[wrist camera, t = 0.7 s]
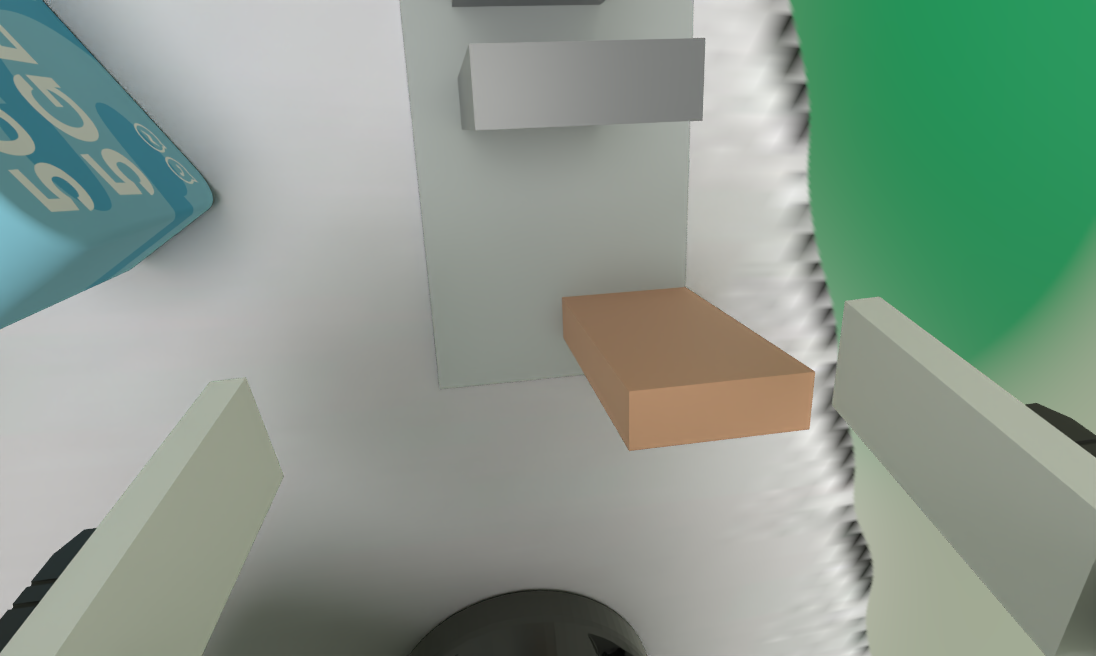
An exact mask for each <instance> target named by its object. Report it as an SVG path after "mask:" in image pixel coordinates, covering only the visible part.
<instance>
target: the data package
mask: <svg viewBox="0 0 1096 656" xmlns="http://www.w3.org/2000/svg"><path fill="white" fill-rule="evenodd" d="M212 203H213V196H212V192H211V190H210V188H209V186H208V184H207V183H206V181H205V180H204V178H203V177H202V176H201V174H200V173H199V172H198V171H197V169H196V168H195V167H194V166H193V165H192V164H191V163H190V162H189V161H188V159H187V158H186V157H185V156H184V155H183V154H182V153H181V152H180V151H179V150H178V149H177V147H176V146H175V145H174V144H173V143H172V142H171V141H170V140H169V139H168V138H167V136H166V135H165V134H164V133H163V132H162V131H161V130H160V129H159V128H158V127H157V126H156V124H155V123H154V122H153V121H152V120H151V119H150V118H149V117H148V116H147V115H146V114H145V112H144V111H143V110H142V109H141V108H140V107H139V106H138V105H137V104H136V103H135V102H134V100H133V99H132V98H131V97H130V96H129V95H128V94H127V93H126V92H125V91H124V89H123V88H122V87H121V86H120V85H119V84H118V83H117V82H116V81H115V80H114V79H113V77H112V76H111V75H110V74H109V73H108V72H107V71H106V70H105V69H104V68H103V67H102V65H101V64H100V63H99V62H98V61H97V60H96V59H95V58H94V57H93V56H92V55H91V53H90V52H89V51H88V50H87V49H86V48H85V47H84V46H83V45H82V44H81V42H80V41H79V40H78V39H77V38H76V37H75V36H74V35H73V34H72V33H71V32H70V30H69V29H68V28H67V27H66V26H65V25H64V24H63V23H62V22H61V21H60V20H59V18H58V17H57V16H56V15H55V14H54V13H53V12H52V11H51V10H50V9H49V7H48V6H47V5H46V4H45V3H44V2H43V1H42V0H0V329H2V328H4V327H6V326H8V325H10V324H13V323H15V322H17V321H19V320H21V319H23V318H26V317H28V316H30V315H32V314H34V313H37V312H39V311H41V310H43V309H45V308H48V307H50V306H52V305H54V304H56V303H59V302H61V301H63V300H65V299H67V298H70V297H72V296H74V295H76V294H78V293H80V292H83V291H85V290H87V289H89V288H91V287H94V286H96V285H98V284H100V283H102V282H105V281H107V280H109V279H111V278H113V277H116V276H118V275H120V274H122V273H124V272H126V271H129V270H130V269H132V268H133V267H134V266H136V265H137V264H138V263H140V262H141V261H142V260H143V259H145V258H146V257H147V256H149V255H150V254H151V253H152V252H154V251H155V250H156V249H158V248H159V247H160V246H161V245H163V244H164V243H165V242H167V241H168V240H169V239H171V238H172V237H173V236H174V235H176V234H177V233H178V232H180V231H181V230H182V229H183V228H185V227H186V226H187V225H189V224H190V223H191V222H192V221H194V220H195V219H196V218H198V217H199V216H200V215H201V214H203V213H204V212H205V211H207V210H208V209H209V208H210V207H211V206H212Z"/></svg>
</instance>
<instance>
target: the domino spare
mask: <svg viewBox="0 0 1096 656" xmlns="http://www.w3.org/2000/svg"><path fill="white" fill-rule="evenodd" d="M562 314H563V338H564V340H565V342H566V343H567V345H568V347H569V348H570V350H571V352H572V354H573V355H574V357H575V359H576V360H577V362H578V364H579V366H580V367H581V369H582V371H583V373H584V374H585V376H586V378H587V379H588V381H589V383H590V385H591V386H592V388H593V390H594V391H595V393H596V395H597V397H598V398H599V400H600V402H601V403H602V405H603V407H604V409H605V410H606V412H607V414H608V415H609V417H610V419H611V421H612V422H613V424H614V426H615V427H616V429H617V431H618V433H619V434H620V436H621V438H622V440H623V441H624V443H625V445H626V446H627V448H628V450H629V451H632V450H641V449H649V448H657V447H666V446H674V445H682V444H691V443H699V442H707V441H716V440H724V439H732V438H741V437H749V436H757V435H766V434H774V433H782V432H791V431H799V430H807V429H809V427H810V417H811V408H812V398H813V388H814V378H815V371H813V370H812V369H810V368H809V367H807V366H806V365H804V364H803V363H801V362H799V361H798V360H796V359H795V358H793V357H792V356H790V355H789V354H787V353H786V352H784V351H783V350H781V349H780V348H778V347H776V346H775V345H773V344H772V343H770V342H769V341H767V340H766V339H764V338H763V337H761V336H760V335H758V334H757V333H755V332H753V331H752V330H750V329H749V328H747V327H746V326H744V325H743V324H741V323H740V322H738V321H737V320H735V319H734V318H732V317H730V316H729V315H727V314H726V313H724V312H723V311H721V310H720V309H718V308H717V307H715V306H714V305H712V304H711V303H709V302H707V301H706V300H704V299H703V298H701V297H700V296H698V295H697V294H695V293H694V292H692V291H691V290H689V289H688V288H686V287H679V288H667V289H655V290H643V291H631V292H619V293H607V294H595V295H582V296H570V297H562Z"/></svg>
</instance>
